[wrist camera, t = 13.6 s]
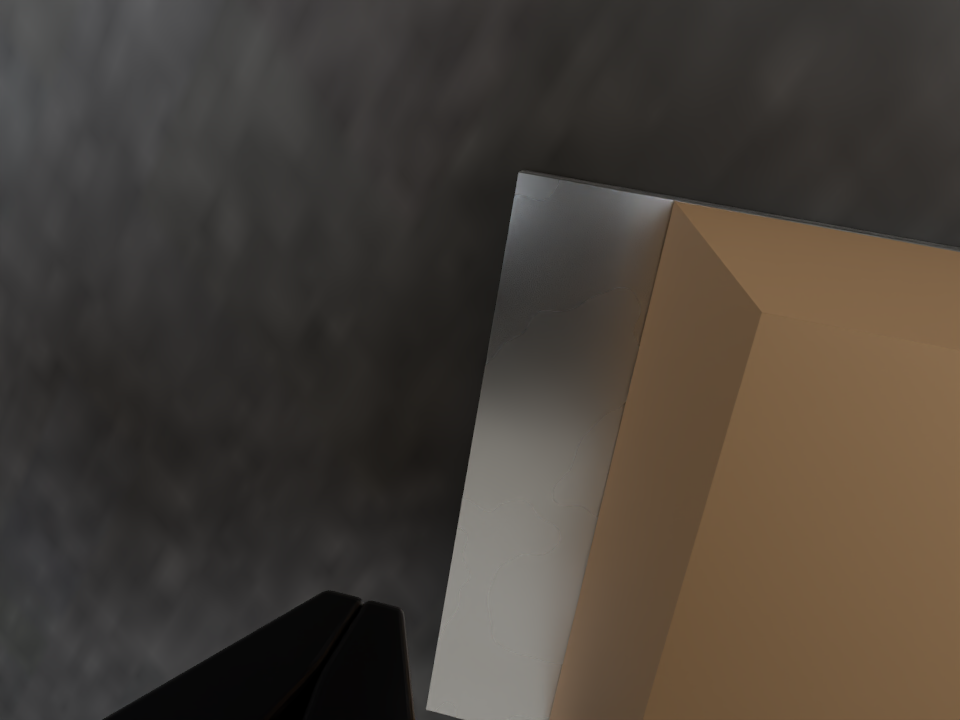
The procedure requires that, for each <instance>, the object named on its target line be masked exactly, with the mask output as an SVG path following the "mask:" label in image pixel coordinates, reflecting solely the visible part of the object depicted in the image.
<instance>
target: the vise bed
mask: <svg viewBox="0 0 960 720" xmlns="http://www.w3.org/2000/svg"><path fill="white" fill-rule="evenodd" d="M674 201H678V202H683V203H689V204H694V205H700V206H706V207H711V208H717V209H722V210H728V211H733V212H739V213H745V214H750V215H756V216H761V217H767V218H773V219H778V220H784V221H789V222H795V223H800V224H806V225H812V226H817V227H823V228H828V229H834V230H839V231H845V232H851V233H856V234H862V235H867V236H873V237H879V238H884V239H890V240H895V241H901V242H906V243H912V244H918V245H923V246H929V247H934V248H940V249H945V250H951V251H957V252H960V248H959V247H953V246H948V245H942V244H937V243H931V242H925V241H920V240H914V239H909V238H903V237H897V236H892V235H886V234H881V233H875V232H869V231H864V230H858V229H853V228H847V227H841V226H836V225H830V224H825V223H819V222H813V221H808V220H802V219H797V218H791V217H786V216H780V215H774V214H769V213H763V212H758V211H752V210H746V209H741V208H735V207H730V206H724V205H718V204H713V203H707V202H702V201H696V200H690V199H685V198H679V197H674V196H668V195H662V194H657V193H651V192H646V191H640V190H634V189H629V188H623V187H618V186H612V185H606V184H601V183H595V182H590V181H584V180H578V179H573V178H567V177H562V176H556V175H550V174H545V173H539V172H534V171H528V170H522V171H520V172H519V173H518V179H517V185H516V190H515V196H514V202H513V208H512V214H511V219H510V225H509V231H508V237H507V243H506V248H505V254H504V260H503V266H502V272H501V277H500V283H499V289H498V295H497V301H496V306H495V312H494V318H493V324H492V330H491V335H490V341H489V347H488V353H487V359H486V365H485V370H484V376H483V382H482V388H481V394H480V399H479V405H478V411H477V417H476V423H475V428H474V434H473V440H472V446H471V452H470V457H469V463H468V469H467V475H466V481H465V486H464V492H463V498H462V504H461V510H460V515H459V521H458V527H457V533H456V539H455V544H454V550H453V556H452V562H451V568H450V573H449V579H448V585H447V591H446V597H445V602H444V608H443V614H442V620H441V626H440V631H439V637H438V643H437V649H436V655H435V660H434V666H433V672H432V678H431V684H430V689H429V695H428V701H427V707H426V710H430V711H434V712H437V713H441V714H445V715H449V716H453V717H456V718H460V719H464V720H549V719H550V715H551V711H552V707H553V703H554V698H555V694H556V690H557V686H558V682H559V678H560V674H561V669H562V665H563V661H564V657H565V653H566V649H567V645H568V640H569V636H570V632H571V628H572V624H573V620H574V616H575V611H576V607H577V603H578V599H579V595H580V591H581V587H582V582H583V578H584V574H585V570H586V566H587V562H588V558H589V553H590V549H591V545H592V541H593V537H594V533H595V529H596V524H597V520H598V516H599V512H600V508H601V504H602V499H603V495H604V491H605V487H606V483H607V479H608V475H609V470H610V466H611V462H612V458H613V454H614V450H615V446H616V441H617V437H618V433H619V429H620V425H621V421H622V417H623V412H624V408H625V404H626V400H627V396H628V392H629V388H630V383H631V379H632V375H633V371H634V367H635V363H636V359H637V354H638V350H639V346H640V342H641V338H642V334H643V330H644V325H645V321H646V317H647V313H648V309H649V305H650V300H651V296H652V292H653V288H654V284H655V280H656V276H657V271H658V267H659V263H660V259H661V255H662V251H663V247H664V242H665V238H666V234H667V230H668V226H669V222H670V218H671V213H672V209H673V205H674Z"/></svg>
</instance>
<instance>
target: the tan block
mask: <svg viewBox="0 0 960 720" xmlns="http://www.w3.org/2000/svg"><path fill="white" fill-rule="evenodd" d="M549 720H960V252H957V251H951V250H945V249H940V248H934V247H929V246H923V245H918V244H912V243H906V242H901V241H895V240H890V239H884V238H879V237H873V236H867V235H862V234H856V233H851V232H845V231H839V230H834V229H828V228H823V227H817V226H812V225H806V224H800V223H795V222H789V221H784V220H778V219H773V218H767V217H761V216H756V215H750V214H745V213H739V212H733V211H728V210H722V209H717V208H711V207H706V206H700V205H694V204H689V203H683V202H678V201H674V205H673V209H672V213H671V218H670V222H669V226H668V230H667V234H666V238H665V242H664V247H663V251H662V255H661V259H660V263H659V267H658V271H657V276H656V280H655V284H654V288H653V292H652V296H651V300H650V305H649V309H648V313H647V317H646V321H645V325H644V330H643V334H642V338H641V342H640V346H639V350H638V354H637V359H636V363H635V367H634V371H633V375H632V379H631V383H630V388H629V392H628V396H627V400H626V404H625V408H624V412H623V417H622V421H621V425H620V429H619V433H618V437H617V441H616V446H615V450H614V454H613V458H612V462H611V466H610V470H609V475H608V479H607V483H606V487H605V491H604V495H603V499H602V504H601V508H600V512H599V516H598V520H597V524H596V529H595V533H594V537H593V541H592V545H591V549H590V553H589V558H588V562H587V566H586V570H585V574H584V578H583V582H582V587H581V591H580V595H579V599H578V603H577V607H576V611H575V616H574V620H573V624H572V628H571V632H570V636H569V640H568V645H567V649H566V653H565V657H564V661H563V665H562V669H561V674H560V678H559V682H558V686H557V690H556V694H555V698H554V703H553V707H552V711H551V715H550V719H549Z"/></svg>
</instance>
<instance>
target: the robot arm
mask: <svg viewBox="0 0 960 720" xmlns="http://www.w3.org/2000/svg"><path fill="white" fill-rule="evenodd" d="M103 720H415V714H414V705H413V695H412V685H411V676H410V666H409V656H408V646H407V637H406V627H405V617H404V612H403V610H402V609H401V608H399V607H395V606H391V605H387V604H383V603H379V602H375V601H368V602H365V603H364V604H363V601H362V600H361V599H360V598H358V597H355V596H351V595H347V594H343V593H339V592H335V591H329V590H328V591H324V592H322V593H320V594H318V595H316V596H315V597H313V598H311V599H310V600H308V601H306V602H304V603H303V604H301V605H299V606H297V607H296V608H294V609H292V610H291V611H289V612H287V613H285V614H284V615H282V616H280V617H278V618H277V619H275V620H273V621H272V622H270V623H268V624H266V625H265V626H263V627H261V628H260V629H258V630H256V631H254V632H253V633H251V634H249V635H247V636H246V637H244V638H242V639H241V640H239V641H237V642H235V643H234V644H232V645H230V646H228V647H227V648H225V649H223V650H222V651H220V652H218V653H216V654H215V655H213V656H211V657H210V658H208V659H206V660H204V661H203V662H201V663H199V664H197V665H196V666H194V667H192V668H191V669H189V670H187V671H185V672H184V673H182V674H180V675H178V676H177V677H175V678H173V679H172V680H170V681H168V682H166V683H165V684H163V685H161V686H160V687H158V688H156V689H154V690H153V691H151V692H149V693H147V694H146V695H144V696H142V697H141V698H139V699H137V700H135V701H134V702H132V703H130V704H128V705H127V706H125V707H123V708H122V709H120V710H118V711H116V712H115V713H113V714H111V715H110V716H108V717H106V718H104V719H103Z"/></svg>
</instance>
